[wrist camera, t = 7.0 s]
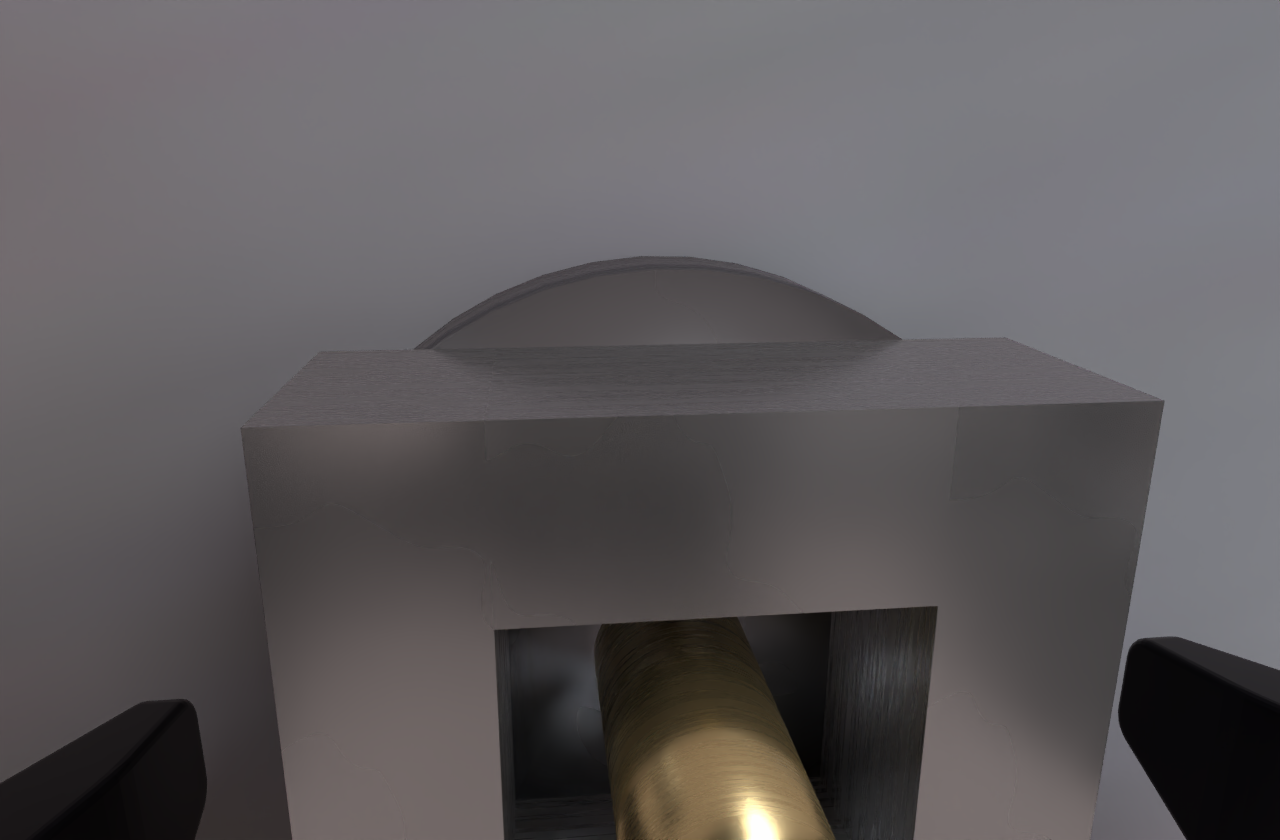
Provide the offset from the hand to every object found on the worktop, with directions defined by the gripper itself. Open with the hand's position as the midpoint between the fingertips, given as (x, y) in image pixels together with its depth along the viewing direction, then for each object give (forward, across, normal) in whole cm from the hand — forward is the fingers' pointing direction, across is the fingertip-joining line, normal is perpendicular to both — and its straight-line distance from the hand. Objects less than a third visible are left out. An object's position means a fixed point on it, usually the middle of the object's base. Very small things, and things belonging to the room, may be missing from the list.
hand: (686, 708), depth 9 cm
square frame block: (+1, 0, 0) cm, 1 cm away
